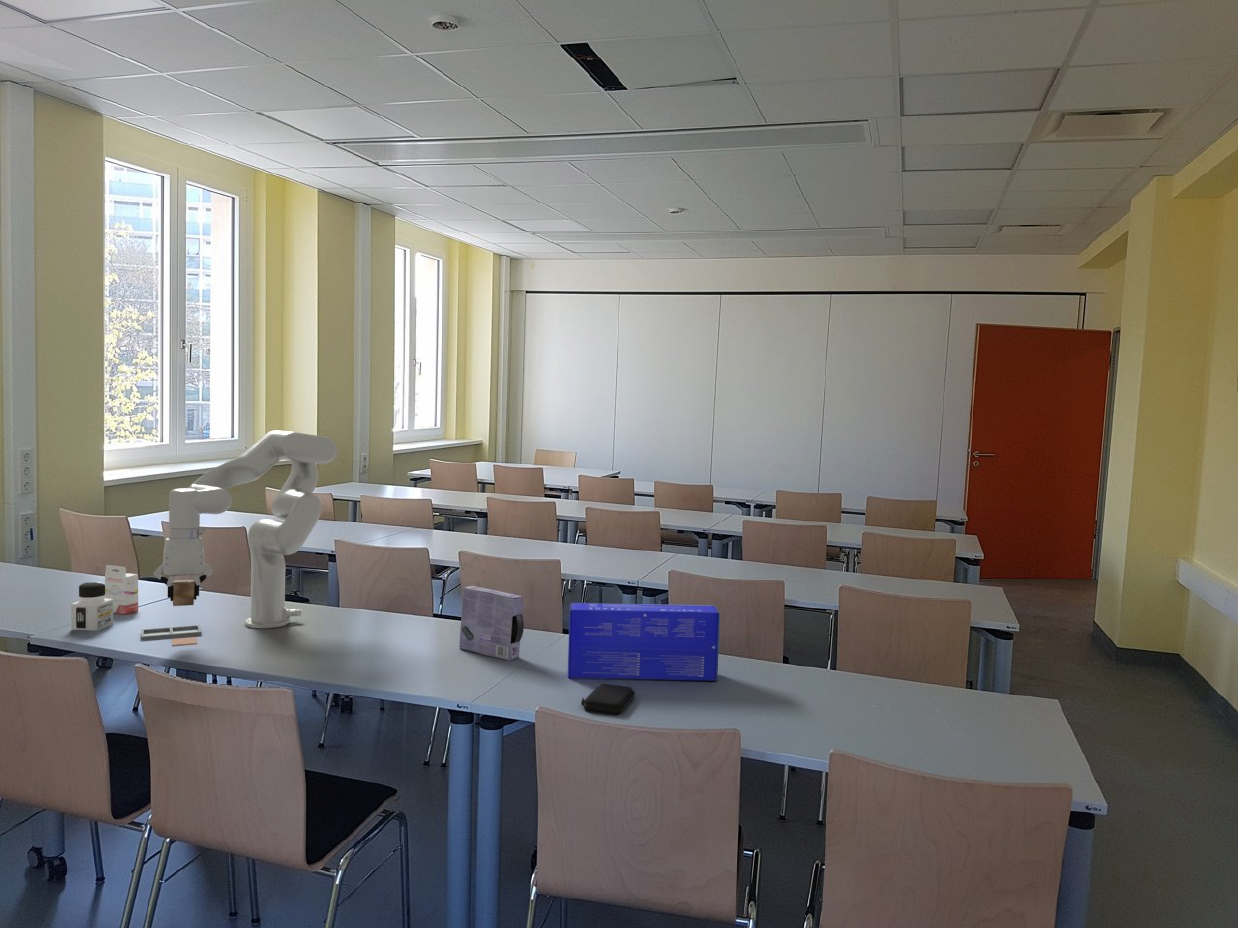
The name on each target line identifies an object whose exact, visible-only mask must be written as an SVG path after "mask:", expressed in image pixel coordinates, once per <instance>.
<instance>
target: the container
mask: <svg viewBox="0 0 1238 928" xmlns="http://www.w3.org/2000/svg"><path fill="white" fill-rule="evenodd" d="M78 599H79V600H78V601H76V602H75V601H74V602H72V603H70V621H71V622H70V630H71V631H100V630H102V629H104V628H106V627H109V626H111V625H113V624H114V613H113V599H105V582H101V581H86V582H83V583H81V584H80V585H79V586H78Z"/></svg>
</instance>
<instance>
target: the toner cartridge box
mask: <svg viewBox="0 0 1238 928" xmlns="http://www.w3.org/2000/svg"><path fill="white" fill-rule="evenodd" d="M568 617H569V618H568V649H567V650H568V652H567V653H568V654H567V678H568V679H570V680H574V679H576V680H579V679H580V680H624V681H625V680H626V681H712V682H717V681H718V675H719V673H718V671H719V649H720V648H719V647H720V628H721V627H720V625H721V624H720V623H721V612H720V611H719V609H718V608H717V606H715V605H707V604H706V605H704V604H702V605H701V604H700V605H699V604H653V603H651V604H648V603H646V604H644V603H642V604H641V603H599V602H598V603H597V602H596V603H595V602H593V603H589V602H587V603H586V602H583V603H582V602H571V603H570V605H569V616H568Z"/></svg>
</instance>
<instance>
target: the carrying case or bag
mask: <svg viewBox="0 0 1238 928" xmlns="http://www.w3.org/2000/svg"><path fill="white" fill-rule="evenodd" d="M635 695H636V692H635V690H634V689H633V688H632V687H630V686H626V685H625V686H624V685H616V684H610V683H609V684H608V683H602V684H600V685H598V686H596V687H595V688H594V689H593V691H592V692H591V693H590V694H589V695H588V696H587V697H586V698H585V699H584V697H582V698H581V701H580V703H581V706H582V707H583V708H584V709H585V710H586V711H587V712H591V713H599V714H605V715H612V716H617V715H620V714H621V713H622V712H623V711H625V709H626V707H627V706H628V705H629V704H630V703H631V701H632V700H633V699H634V697H635Z"/></svg>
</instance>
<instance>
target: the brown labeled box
mask: <svg viewBox="0 0 1238 928" xmlns="http://www.w3.org/2000/svg"><path fill="white" fill-rule="evenodd" d="M194 582H195V580H194V579H184V580H183V579H181V580H176V579H175V580H173V582H172V583H173V586H174V591H173V601H172V606H173V607H182V606H183V607H184V606H194V605H195V600H194Z"/></svg>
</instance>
